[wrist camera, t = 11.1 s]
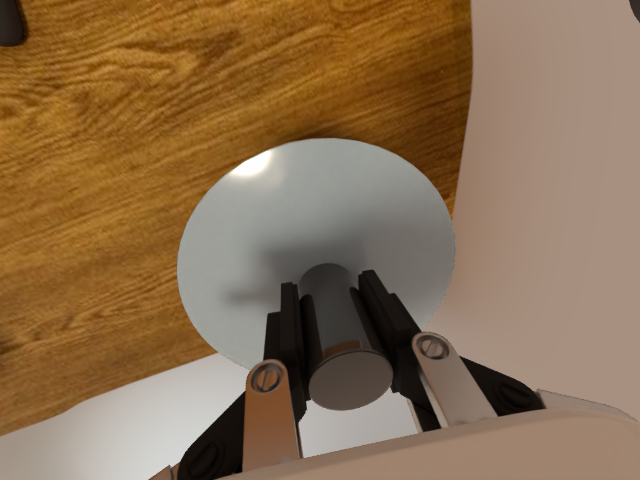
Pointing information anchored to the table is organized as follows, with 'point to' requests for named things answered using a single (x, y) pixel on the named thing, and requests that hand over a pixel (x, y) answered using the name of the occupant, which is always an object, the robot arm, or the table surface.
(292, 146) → the lid
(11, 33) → the computer mouse
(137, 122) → the table surface
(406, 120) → the table surface
